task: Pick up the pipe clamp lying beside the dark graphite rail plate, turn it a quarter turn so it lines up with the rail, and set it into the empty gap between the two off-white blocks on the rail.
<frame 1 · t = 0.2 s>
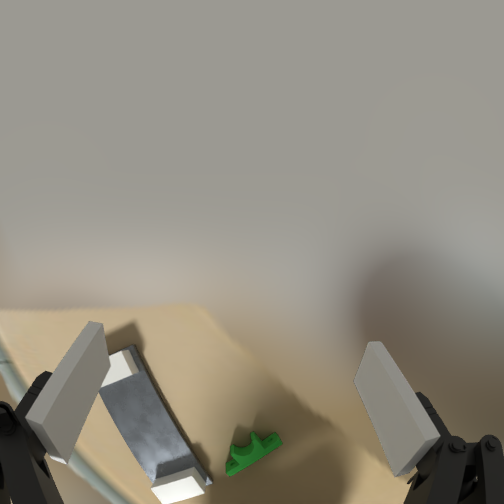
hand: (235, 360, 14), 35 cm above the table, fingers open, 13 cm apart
pipe clamp: (248, 445, 43), on the table
mounting rail: (148, 427, 42), on the table
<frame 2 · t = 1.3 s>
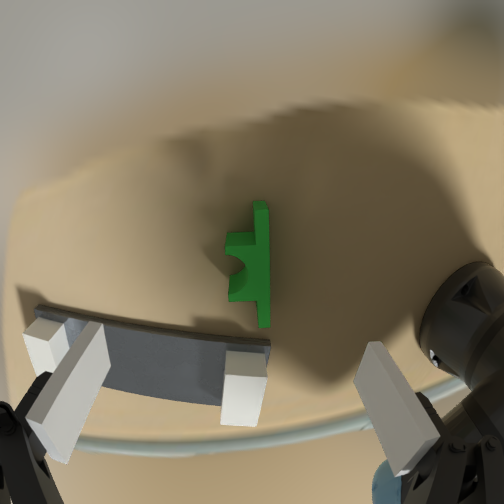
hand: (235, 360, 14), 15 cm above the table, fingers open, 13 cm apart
pipe clamp: (248, 255, 28), on the table
mounting rail: (143, 360, 31), on the table
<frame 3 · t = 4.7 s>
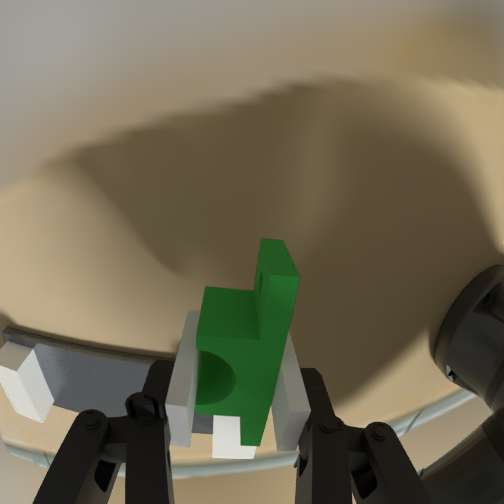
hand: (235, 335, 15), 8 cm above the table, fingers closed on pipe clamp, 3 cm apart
pipe clamp: (237, 325, 16), point 7 cm above the table, touching gripper
mounting rail: (122, 387, 26), on the table
when the fingers open (2 cm above the table, at t = 7.9 s): pipe clamp stays where it is, resting on mounting rail.
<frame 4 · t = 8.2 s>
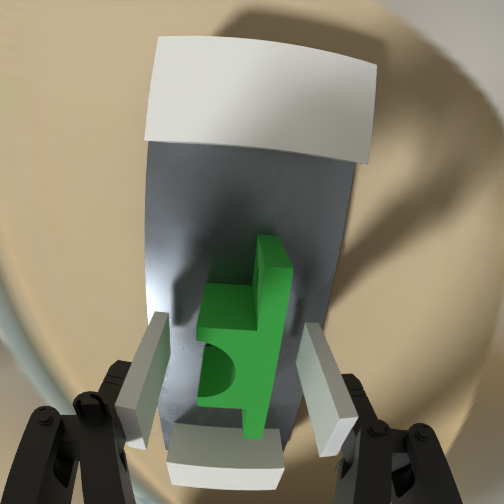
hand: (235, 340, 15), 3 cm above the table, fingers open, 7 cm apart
pipe clamp: (237, 320, 16), point 1 cm above the table, touching mounting rail
mounting rail: (235, 315, 17), on the table
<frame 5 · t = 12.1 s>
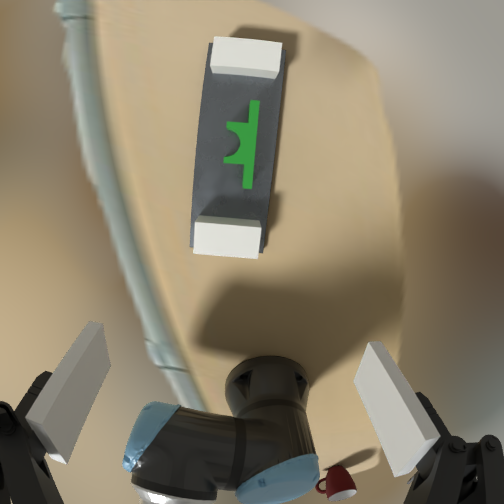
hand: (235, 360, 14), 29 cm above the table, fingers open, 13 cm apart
pipe clamp: (241, 143, 36), point 1 cm above the table, touching mounting rail
mounting rail: (236, 145, 37), on the table
mug: (330, 469, 65), on the table
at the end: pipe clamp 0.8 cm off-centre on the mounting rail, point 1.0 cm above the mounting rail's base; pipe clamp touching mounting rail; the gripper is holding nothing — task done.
